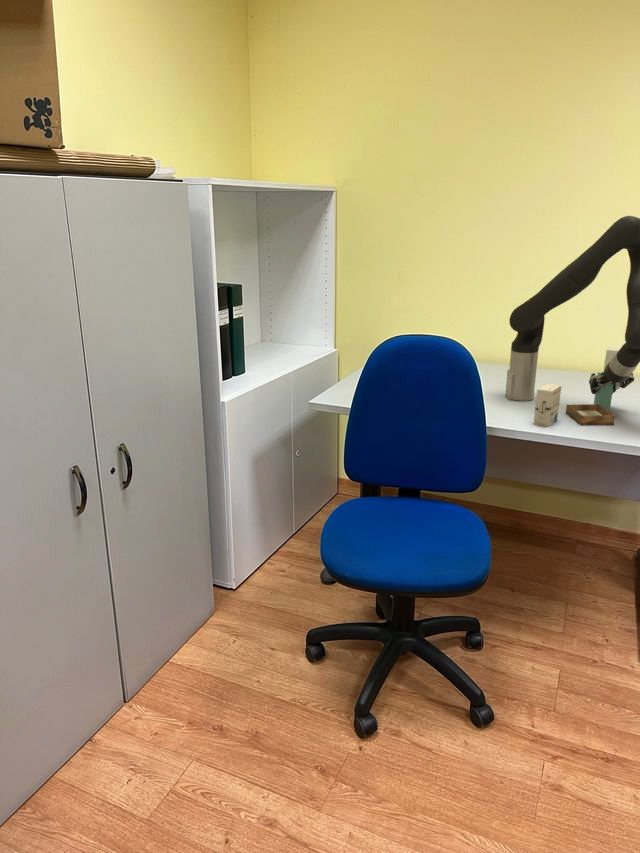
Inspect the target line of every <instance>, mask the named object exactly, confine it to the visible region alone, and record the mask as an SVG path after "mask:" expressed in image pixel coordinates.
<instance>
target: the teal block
mask: <svg viewBox="0 0 640 853" xmlns="http://www.w3.org/2000/svg"><path fill="white" fill-rule="evenodd" d="M601 373H603V371H598V372H597V375H600V374H601ZM598 385H599V383H598ZM613 385H614V384H608V385H606V386H604V387H601V388H599V389H598V391H597V392H596V393H595V394H594V399H593V404H599V405H600V406H602V407H603V408H605V409H606V410H607V411H610V410H611V405H612V398H613V394H612V392H613Z"/></svg>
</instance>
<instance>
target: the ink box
mask: <svg viewBox="0 0 640 853" xmlns="http://www.w3.org/2000/svg"><path fill="white" fill-rule="evenodd" d="M561 394H562V385H559V384H553V383H552V384H551V383H545V384H544V385H542V386H540V387H539V388H537V391H536V400H535V409H534V418H533V424H534V425H537V426H541V427H546V426H547V427H550V426H551V425H553V424H554V423H555V422H556V421H558V415H559V407H560V401H561Z"/></svg>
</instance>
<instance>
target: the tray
mask: <svg viewBox="0 0 640 853" xmlns="http://www.w3.org/2000/svg"><path fill="white" fill-rule="evenodd" d="M565 414H566V415H567V414H568V415H569V418H570V419H572V420H573V419H574V420H575V421H576V422H575V421H574V420H573V421H574V422H575V423H577V424H578V425H579V424H580V425H579V426H614V425H615V418H616V415H614V414H613V413H611V412H610V410H606V409H605V408H603V407H602V406H600V405H599V404H594V403H593V404H589V403H587V404H584V403H583V404H576V403H574V404H566V406H565ZM568 415H567V416H568Z"/></svg>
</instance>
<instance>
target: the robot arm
mask: <svg viewBox="0 0 640 853" xmlns="http://www.w3.org/2000/svg"><path fill="white" fill-rule="evenodd" d="M623 249H625V250H626V251H627V253H628V256H629V263H630V265H629V268H630V270H629V276H628V279H627V284H626V303H627V310H628V313H627V321H626V322H627V323H626V328H625V333H624V341H625V343H623V344H622V346H620V347H621V348H620V350H619V351H618V352H617V353H616V354H615V355H614V356H613V358H612V359H611V360H610V362H609V363H608V364H607V366H606V367H605V370H604V369H603V371H604V372H603V371H602V372H603V373H601V374H600V375H598V374H597V375H596V373H591V375H590V378H589V380H588V383H589V388H590V393H591V394H592V395H595V393H596V392H597V391H598V389H599V388H601V387H604V386H606V385H608V384H614V385H613V392H612V395H613V394H614V393H616V392H617V390H620V388H621V389H625V388H627V387H628V386H629V385H630V384H632V383H633V382H634V381H635V377H634V373H633V372H634V371H635V370H636V369H637V367H638V365H639V364H640V217H636V216H635V215H634V216H633V215H624V216H622V217H620V218H619V219H617V220H616V221H615V222H613V223H612V225H610V226H609V228H607V229H606V231H605V232H603V234H602V235H601V236H600V237H599V238H598V239H596V241H595V242H594V243H593V244H592V245H591V246H589V247H588V248H587V249H585V251H584V252H583V253H581V254H580V255H579V256H578V257H576V258H575V259H574V260H573V261H572V262H571V263H569V264H568V265H567V266H565V268H563V269H562V270H561V271H560V272H558V274H556V275H555V276H554V277H553V278H552V279H551V280H550V281H549V282H547V283H546V284H545V285H544V286H543V287H542V288H541V289H540V290H539V291H537V292H536V293H535V295H533V296H532V297H530V298H528V299H527V300H526V301H525V302H523V303H522V304H520V305H518V306H517V307H516V308H514V310H512V312H511V314H510V316H509V320H508V321H509V326H510V327H511V329H512V330H513V331H515V332H516V333H517V334H516V337H515V338H514V339H513V340H512V342H511V347H510V357H509V358H510V359H509V367H508V368H509V369H507V371H506V372H507V373H506V383H505V384H506V385H505V393H504V394H505V397H506V398H507V399H508V400H510V401H513V400H514V401H520V402H521V401H522V402H525V401H526V402H527V401H532V400H534V397H535V386H536V378H537V368H538V359H539V350H540V346H541V344H542V341H543V336H544V329H545V328H544V327H545V318H546V317H545V316H546V315H547V314H548V313H549V312H550V311H552V310H554V309H556V308H557V307H559V306H561V305H562V304H564V303H566V302H568V301H570V300H571V299H573V298H574V297H576V296H578V295H579V294H581V293H582V292H583V291H585V290H586V289H587V287H589V286H590V285H592V283H593V282H594V281H595V279H596V278H597V276H598V274H599V273H600V271H601V270H602V268H603V266H604V265H605V263H607V261H609V260H610V259H611V258H612V257H613V256H615V255H616V254H618V253H619V252H620V251H622V250H623ZM598 383H599V385H598Z"/></svg>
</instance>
